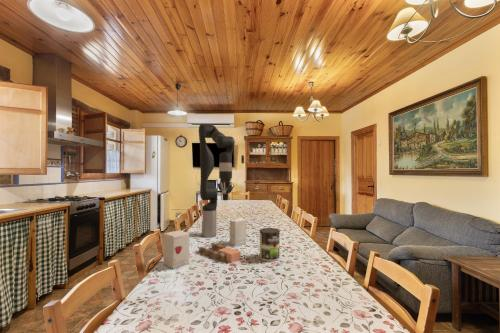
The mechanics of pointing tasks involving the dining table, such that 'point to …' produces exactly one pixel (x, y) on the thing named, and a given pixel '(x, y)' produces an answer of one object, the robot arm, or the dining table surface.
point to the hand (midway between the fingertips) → (225, 200)
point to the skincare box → (237, 232)
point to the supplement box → (176, 249)
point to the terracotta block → (230, 254)
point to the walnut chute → (214, 254)
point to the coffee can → (269, 244)
